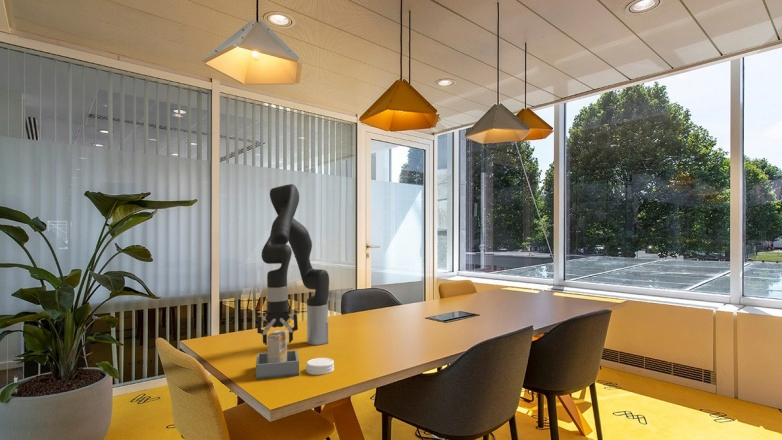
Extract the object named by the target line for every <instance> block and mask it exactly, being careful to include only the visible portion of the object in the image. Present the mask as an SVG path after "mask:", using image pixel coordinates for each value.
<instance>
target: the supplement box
mask: <svg viewBox="0 0 782 440" xmlns="http://www.w3.org/2000/svg"><path fill="white" fill-rule="evenodd" d="M266 346H267V353H268V363H277V362H287V351H288V330H274V331H272V332H271V333H269V334H267V345H266Z"/></svg>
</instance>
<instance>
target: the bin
mask: <svg viewBox="0 0 782 440" xmlns="http://www.w3.org/2000/svg"><path fill="white" fill-rule="evenodd" d="M255 362H256V363H255V380H256V381H257V380H258V381H259V380H267V379H277V378H288V377H297V376H300V358H299V354H298V350H295V349H294V350H287V362H277V363H268V352H261V353H260V352H259V353H257V354H256V361H255Z"/></svg>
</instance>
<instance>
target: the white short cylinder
mask: <svg viewBox="0 0 782 440" xmlns="http://www.w3.org/2000/svg"><path fill="white" fill-rule="evenodd" d="M334 364H335V361H334V359H332V358H329V357H316V358H312V359H309V360H308V361H307V362H306V367H305V368H306V369H305V371H306V373H307V374H308V375H312V376H313V375H314V376H323V375H327V374H330V373H332V372H334V370H335V365H334Z"/></svg>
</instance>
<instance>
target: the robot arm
mask: <svg viewBox="0 0 782 440" xmlns="http://www.w3.org/2000/svg"><path fill="white" fill-rule="evenodd" d="M269 198H270V202H271V204H272V207H273V208H274V210H275V212H276V214H277V216H276V217H275V219H274V221H273V222H272V224H271V227H270V228H271V229H270V235H269V237H268V239H267V240H266V242H265V243H264V246H263V248H262V249H261V259H262V261H263V263H265V264H269V265H270V264H271V265H273V264H274V265H276V264H281V265H280V267H279V268H276V269H273V270H270V271H268V272H267V276H266V277H267V278H266V279H267V280H266V281H267V283H266V286H267V287H266V315H264V316H263V315H258V317H257V329H256V330H257V334H260V335H262V343H263V345H265V346H267V336H268V334H267V333H268V332H269V330H270V329H271V328H283V327H285V328H286V330H287V331H288V343H290V344H291V343H292V342H293V341H294V332H296V331H298V329H299V325H298V315H297V313H295V312H294V313H291V314H290V313H289V292H288V291H289V290H288V269H289V265H290V262H291V259H292V253H293V255H294V258H295V260H296V263H297V266H298V270H299V274H300V277H301V281H302V284H303V286H304V287H305V288H306V289H307V290H313V291H314V290H315V293H314V295H313V296H311V297H308V298H307V300H306V341H307V342H306V343H307V344H308V345H310V346H311V345H313V346H316V345H317V346H319V345H325V344H329V321H328V300H329V294H330V291H329V289H330V274H329V273H328V271H327V270H325V269H322V268H321V269H317V268H316V269H315V268H313V266H312V264H311V260H310V258H311V252H312V248H313V242H312V239H311V236H310V233H309V231H308V228H307V227H305V226H304V225H303V224H302V223H301V222H299V221H298V220H296V219H295V218H294V217H295V214H296V211H297V209H298V206H299V202H300V193H299V190H298V187H297V186H296V185H295V184H292V183H290V184H285V185H279V186H276V187H273V188H271V189H270V190H269ZM288 244H289V245H288ZM290 318H291V320H292V321H293V326H291V325H290V324H289V323H288V321H289V319H290ZM265 320H266V322H267V324H266V326H265V328H264V329H262V323H264V322H265Z"/></svg>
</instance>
